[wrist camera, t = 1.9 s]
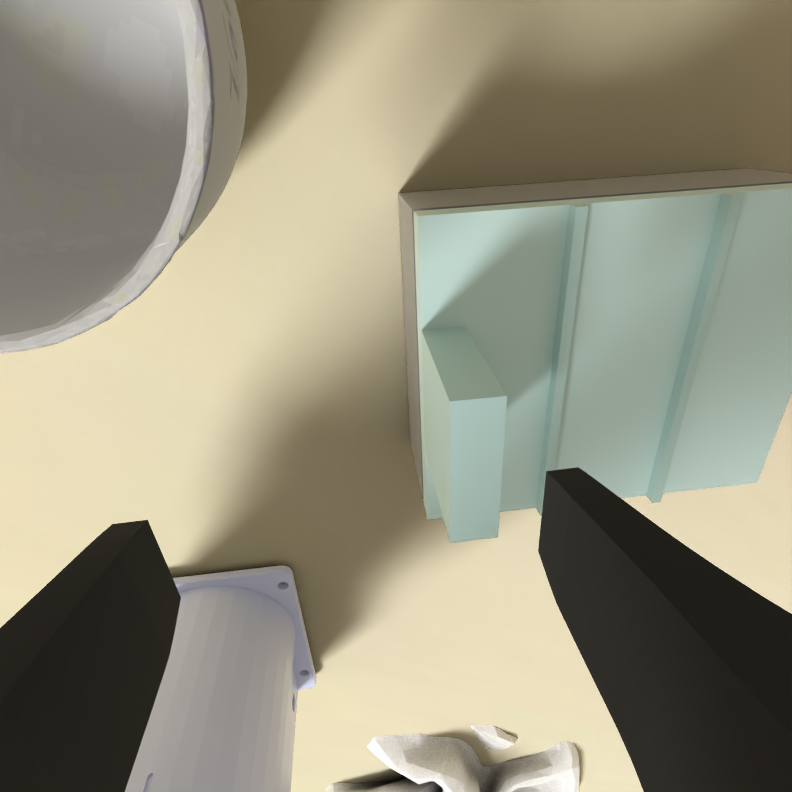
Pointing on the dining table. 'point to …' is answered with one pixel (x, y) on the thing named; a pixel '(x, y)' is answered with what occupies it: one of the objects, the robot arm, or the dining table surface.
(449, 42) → the dining table surface
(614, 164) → the dining table surface
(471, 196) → the tub
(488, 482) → the lid
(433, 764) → the cloth
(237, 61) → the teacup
